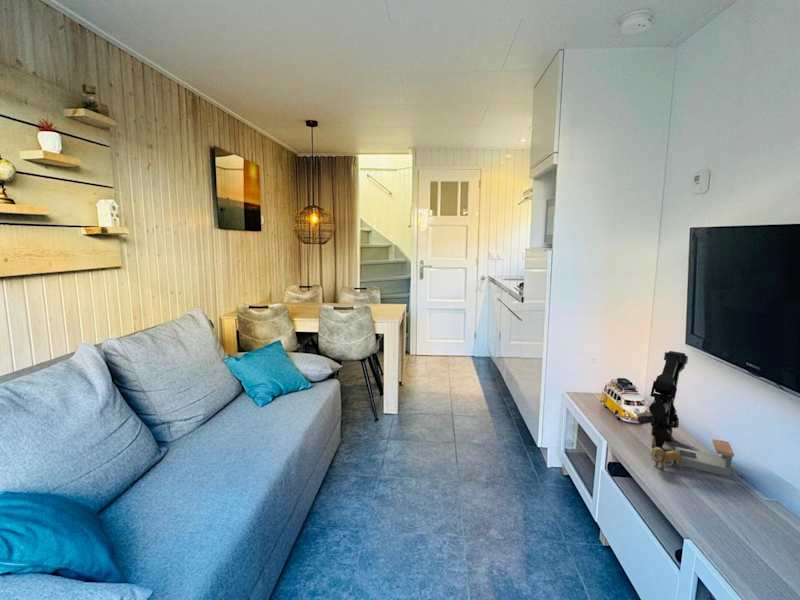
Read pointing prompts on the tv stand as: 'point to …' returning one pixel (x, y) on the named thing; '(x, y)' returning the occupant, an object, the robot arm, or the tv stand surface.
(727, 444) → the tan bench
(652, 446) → the peg
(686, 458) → the socket block
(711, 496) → the tv stand surface
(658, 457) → the lion figurine
